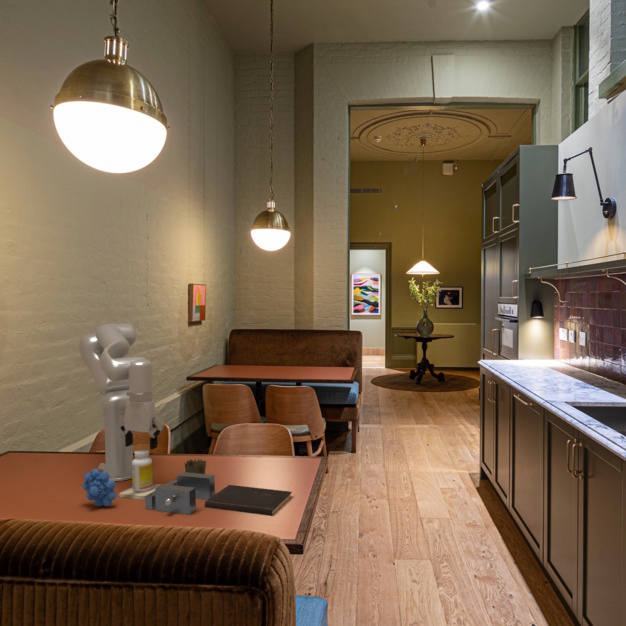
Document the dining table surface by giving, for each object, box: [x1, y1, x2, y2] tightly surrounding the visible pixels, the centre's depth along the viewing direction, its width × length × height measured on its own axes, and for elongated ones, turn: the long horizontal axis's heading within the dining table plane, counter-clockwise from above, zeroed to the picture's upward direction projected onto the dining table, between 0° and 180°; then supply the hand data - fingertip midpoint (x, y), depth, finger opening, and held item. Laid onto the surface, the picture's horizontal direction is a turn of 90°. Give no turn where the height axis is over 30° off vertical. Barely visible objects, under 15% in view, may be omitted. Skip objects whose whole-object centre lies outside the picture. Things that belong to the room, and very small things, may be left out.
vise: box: [144, 471, 216, 515], centre depth 169 cm, size 16×19×7 cm
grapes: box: [82, 468, 117, 508], centre depth 167 cm, size 12×7×12 cm, turn 78°
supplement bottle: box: [131, 449, 154, 492], centre depth 180 cm, size 7×7×13 cm
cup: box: [184, 458, 207, 474], centre depth 187 cm, size 8×7×8 cm
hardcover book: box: [204, 484, 293, 517], centre depth 170 cm, size 16×23×2 cm
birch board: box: [118, 483, 160, 501], centre depth 180 cm, size 11×11×1 cm
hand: (141, 446), depth 180 cm, fingers open, 9 cm apart
